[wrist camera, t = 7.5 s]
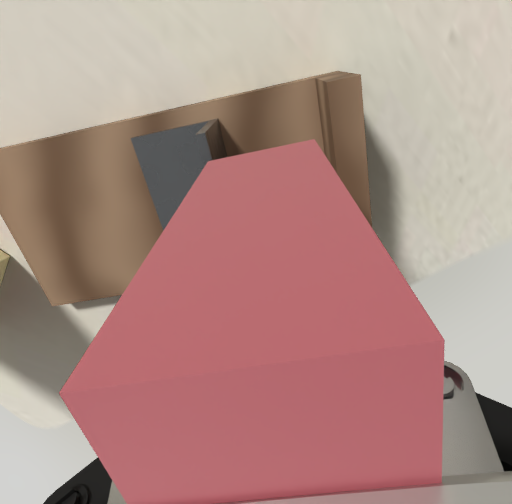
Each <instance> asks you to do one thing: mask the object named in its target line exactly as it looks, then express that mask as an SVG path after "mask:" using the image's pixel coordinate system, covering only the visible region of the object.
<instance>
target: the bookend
mask: <svg viewBox="0 0 512 504" xmlns="http://www.w3.org/2000/svg"><path fill="white" fill-rule="evenodd" d="M131 141H132V144H133V147H134V150H135V152H136V155H137V158H138V161H139V164H140V167H141V169H142V172H143V175H144V178H145V181H146V183H147V186H148V189H149V192H150V195H151V198H152V200H153V203H154V206H155V209H156V212H157V214H158V217H159V220H160V223H161V226H162V228H163V231H164V229H165V227H166V226H167V224H168V223H169V221H170V220H171V218H172V217H173V215H174V213H175V212H176V210H177V209H178V207H179V206H180V204H181V203H182V201H183V199H184V198H185V196H186V195H187V193H188V192H189V190H190V189H191V187H192V185H193V184H194V182H195V181H196V179H197V178H198V176H199V175H200V173H201V171H202V170H203V168H204V167H205V165H206V164H207V162H208V161H212V160H217V159H221V158H226V157H227V153H226V149H225V145H224V141H223V137H222V133H221V129H220V124H219V120H218V118H217V119H213V120H208V121H204V122H199V123H195V124H190V125H186V126H181V127H177V128H172V129H168V130H163V131H159V132H154V133H150V134H145V135H141V136H136V137H132V138H131Z"/></svg>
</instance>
